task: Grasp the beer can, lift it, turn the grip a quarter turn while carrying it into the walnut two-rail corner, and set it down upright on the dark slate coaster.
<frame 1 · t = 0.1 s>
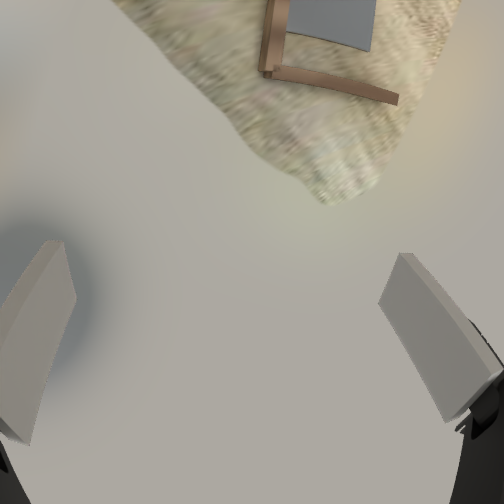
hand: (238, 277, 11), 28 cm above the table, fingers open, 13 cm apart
coaster: (332, 2, 27), on the table
wooden corner frame: (264, 71, 31), on the table
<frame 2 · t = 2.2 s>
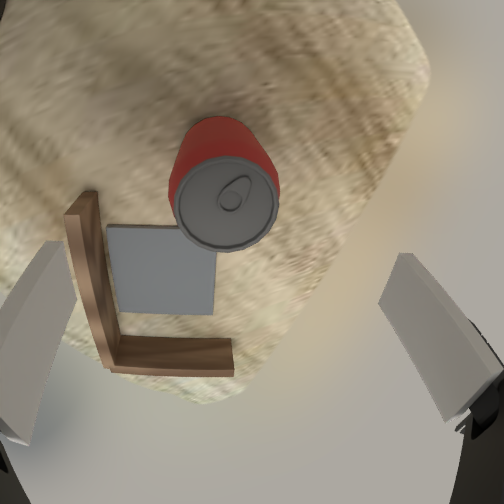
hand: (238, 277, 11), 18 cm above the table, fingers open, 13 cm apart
beer can: (218, 151, 26), on the table
coaster: (162, 272, 32), on the table
wooden corner frame: (116, 338, 36), on the table
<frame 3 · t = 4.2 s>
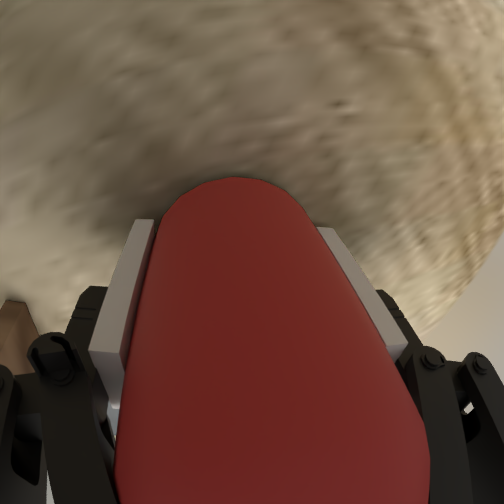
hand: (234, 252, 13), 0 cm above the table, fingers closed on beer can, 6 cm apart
beer can: (233, 243, 13), on the table, touching gripper
wooden corner frame: (98, 447, 24), on the table
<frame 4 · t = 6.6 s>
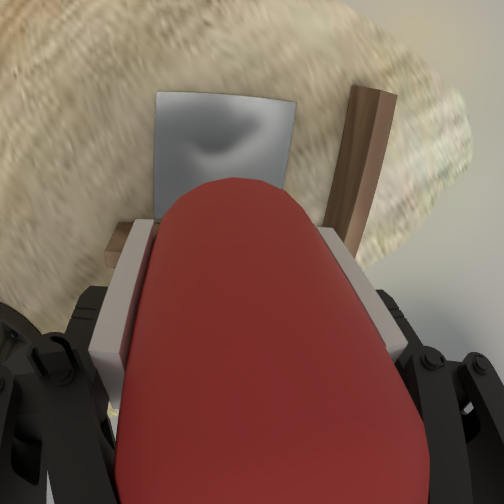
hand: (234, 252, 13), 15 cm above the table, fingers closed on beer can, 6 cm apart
beer can: (233, 244, 13), point 14 cm above the table, touching gripper
coaster: (220, 158, 25), on the table
wooden corner frame: (326, 237, 30), on the table
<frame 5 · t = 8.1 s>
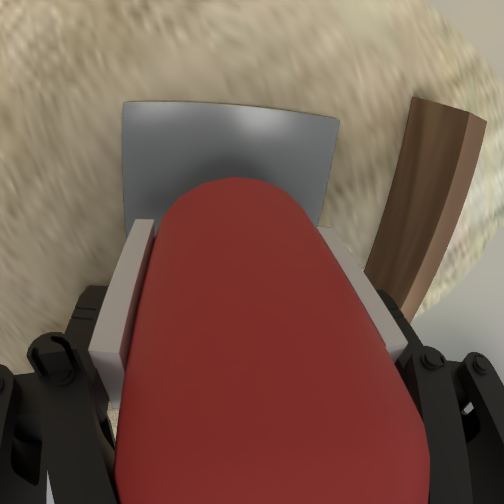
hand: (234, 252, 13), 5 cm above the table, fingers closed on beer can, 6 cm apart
beer can: (233, 244, 13), point 4 cm above the table, touching gripper
coaster: (223, 203, 17), on the table
wooden corner frame: (362, 298, 23), on the table
when the fingers open (2 cm above the table, at t = 9.0 s): beer can drops 1 cm, resting on coaster.
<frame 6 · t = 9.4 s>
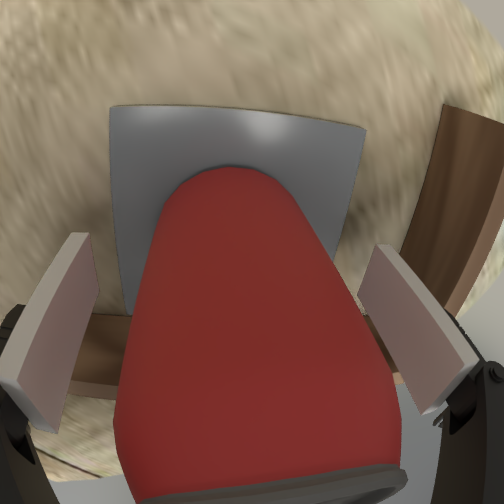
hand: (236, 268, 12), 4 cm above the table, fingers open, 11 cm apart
beer can: (229, 229, 15), resting on coaster
coaster: (230, 224, 15), on the table
wooden corner frame: (378, 322, 20), on the table
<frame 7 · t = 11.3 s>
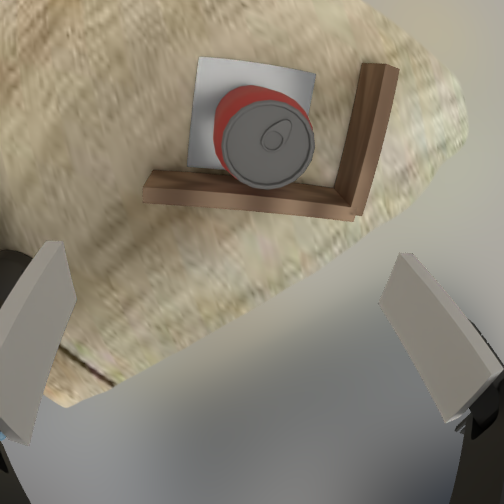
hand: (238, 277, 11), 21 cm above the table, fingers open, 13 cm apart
beer can: (249, 117, 28), resting on coaster
coaster: (249, 117, 28), on the table
wooden corner frame: (338, 195, 33), on the table
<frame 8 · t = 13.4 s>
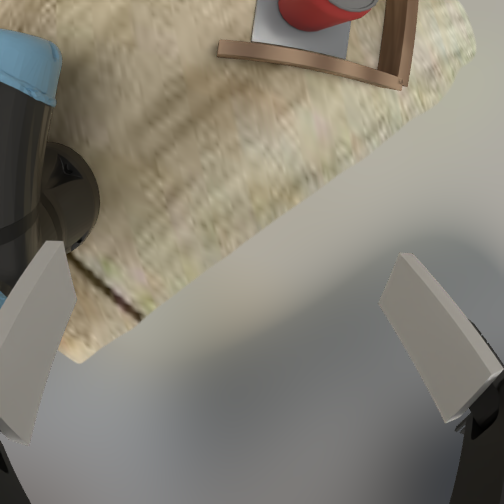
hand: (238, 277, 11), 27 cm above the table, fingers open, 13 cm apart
beer can: (305, 7, 26), resting on coaster
coaster: (305, 8, 26), on the table
wooden corner frame: (380, 81, 32), on the table
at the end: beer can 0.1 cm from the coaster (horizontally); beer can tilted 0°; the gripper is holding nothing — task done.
